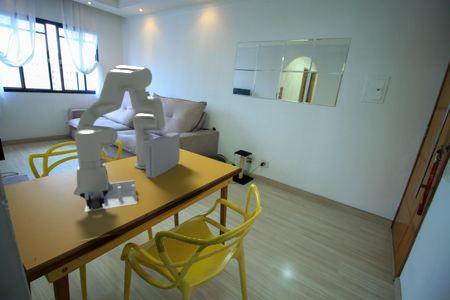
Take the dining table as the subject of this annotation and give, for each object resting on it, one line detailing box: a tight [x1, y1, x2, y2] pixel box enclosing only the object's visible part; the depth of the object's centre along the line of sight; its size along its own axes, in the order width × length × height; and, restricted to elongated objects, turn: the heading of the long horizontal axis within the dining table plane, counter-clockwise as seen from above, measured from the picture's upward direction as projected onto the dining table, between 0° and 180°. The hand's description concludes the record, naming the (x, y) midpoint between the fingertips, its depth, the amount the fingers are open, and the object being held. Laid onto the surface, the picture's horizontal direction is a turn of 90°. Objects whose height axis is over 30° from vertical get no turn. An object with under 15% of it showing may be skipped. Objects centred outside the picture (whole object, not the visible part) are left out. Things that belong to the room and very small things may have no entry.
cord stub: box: [91, 192, 100, 209], centre depth 89 cm, size 10×3×3 cm, turn 25°
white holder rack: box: [84, 179, 138, 213], centre depth 93 cm, size 16×19×6 cm
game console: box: [145, 131, 181, 179], centre depth 126 cm, size 6×27×20 cm, turn 162°
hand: (96, 206), depth 86 cm, fingers closed on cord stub, 3 cm apart
